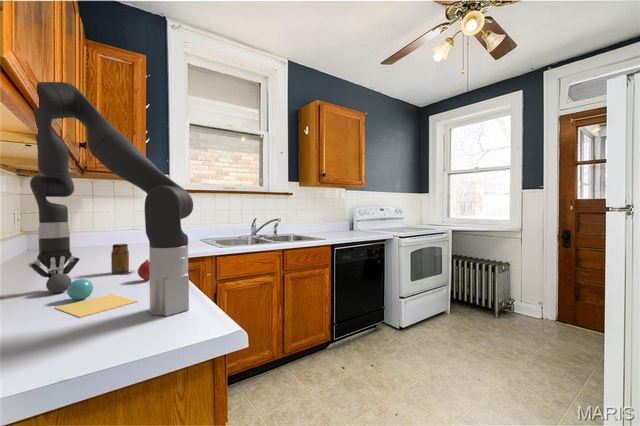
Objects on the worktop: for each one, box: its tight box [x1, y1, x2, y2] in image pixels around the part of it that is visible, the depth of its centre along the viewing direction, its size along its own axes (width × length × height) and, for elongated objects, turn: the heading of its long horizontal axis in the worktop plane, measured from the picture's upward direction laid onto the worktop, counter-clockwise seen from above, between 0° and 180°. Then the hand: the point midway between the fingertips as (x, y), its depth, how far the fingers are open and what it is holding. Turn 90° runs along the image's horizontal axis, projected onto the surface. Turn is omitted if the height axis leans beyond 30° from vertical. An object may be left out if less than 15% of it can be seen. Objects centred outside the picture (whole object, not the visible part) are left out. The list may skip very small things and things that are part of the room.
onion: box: [137, 259, 150, 282], centre depth 109 cm, size 6×6×8 cm
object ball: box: [66, 278, 94, 301], centre depth 86 cm, size 6×6×6 cm
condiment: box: [106, 243, 138, 276], centre depth 121 cm, size 7×8×12 cm
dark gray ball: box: [45, 274, 72, 294], centre depth 93 cm, size 6×6×6 cm
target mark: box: [54, 294, 139, 318], centre depth 82 cm, size 14×14×1 cm
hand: (56, 288), depth 95 cm, fingers closed
